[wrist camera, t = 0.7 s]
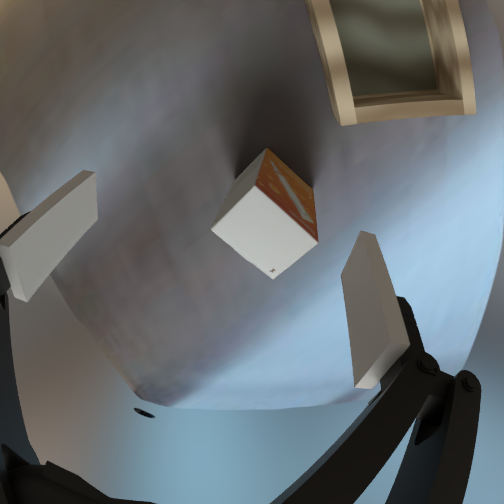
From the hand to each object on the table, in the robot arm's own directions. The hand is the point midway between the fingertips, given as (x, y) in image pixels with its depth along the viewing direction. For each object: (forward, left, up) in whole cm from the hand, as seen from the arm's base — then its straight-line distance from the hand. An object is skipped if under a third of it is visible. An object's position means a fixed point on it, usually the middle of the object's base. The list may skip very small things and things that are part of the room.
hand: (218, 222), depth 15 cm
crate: (-11, +16, -25) cm, 31 cm away
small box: (+8, -1, -25) cm, 26 cm away
